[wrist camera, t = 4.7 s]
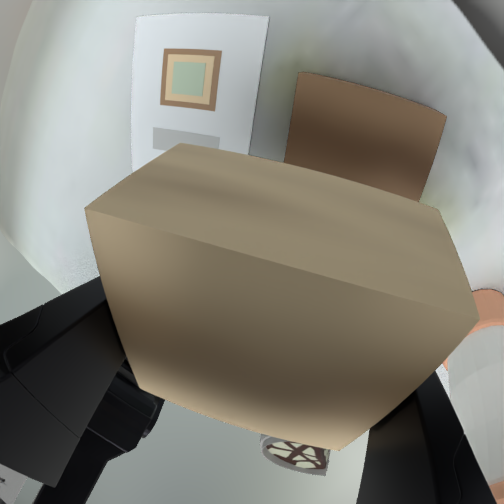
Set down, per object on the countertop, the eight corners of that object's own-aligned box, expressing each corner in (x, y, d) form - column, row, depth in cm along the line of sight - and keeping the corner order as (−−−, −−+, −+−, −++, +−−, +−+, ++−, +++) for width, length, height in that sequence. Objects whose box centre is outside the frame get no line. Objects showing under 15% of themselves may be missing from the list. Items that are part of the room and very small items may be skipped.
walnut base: (397, 221, 19) (402, 241, 17) (283, 190, 20) (275, 206, 18) (434, 108, 14) (446, 116, 12) (304, 71, 15) (298, 72, 13)
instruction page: (242, 195, 21) (241, 197, 20) (132, 171, 22) (131, 172, 22) (269, 17, 13) (268, 16, 13) (137, 16, 15) (135, 16, 14)
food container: (269, 335, 28) (238, 429, 21) (334, 336, 26) (318, 439, 18) (289, 398, 35) (269, 470, 27) (339, 401, 32) (325, 477, 25)
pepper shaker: (424, 343, 24) (419, 555, 9) (457, 283, 19) (486, 547, 4) (484, 348, 22) (498, 537, 7) (521, 293, 18) (568, 511, 3)
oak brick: (351, 363, 10) (339, 451, 8) (183, 313, 11) (140, 388, 9) (438, 209, 6) (480, 318, 4) (180, 142, 7) (84, 208, 5)
